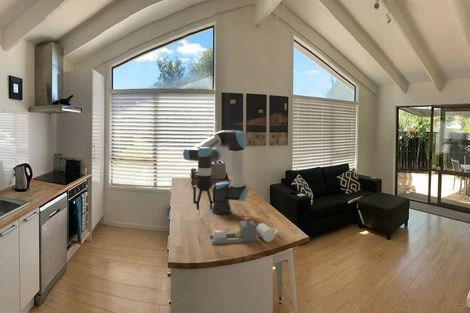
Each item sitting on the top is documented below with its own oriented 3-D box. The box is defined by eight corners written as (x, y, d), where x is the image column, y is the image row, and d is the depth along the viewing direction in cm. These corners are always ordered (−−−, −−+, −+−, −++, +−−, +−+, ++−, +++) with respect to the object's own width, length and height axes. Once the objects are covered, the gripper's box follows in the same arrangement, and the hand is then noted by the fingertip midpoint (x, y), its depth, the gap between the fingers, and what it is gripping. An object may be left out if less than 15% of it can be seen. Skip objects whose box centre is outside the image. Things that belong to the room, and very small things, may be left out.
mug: (263, 243, 158) (263, 229, 157) (255, 236, 167) (255, 224, 166) (280, 239, 163) (281, 227, 162) (272, 233, 172) (272, 221, 171)
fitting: (212, 238, 160) (212, 229, 159) (224, 237, 161) (224, 228, 160) (214, 242, 154) (214, 233, 154) (226, 241, 156) (226, 232, 155)
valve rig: (209, 238, 162) (210, 217, 160) (251, 236, 167) (252, 215, 165) (211, 246, 152) (212, 223, 150) (256, 243, 157) (257, 220, 156)
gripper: (188, 176, 146) (188, 218, 148) (221, 175, 149) (220, 216, 152) (188, 173, 153) (188, 213, 156) (219, 173, 157) (218, 212, 159)
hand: (204, 214), depth 154 cm, fingers open, 5 cm apart
